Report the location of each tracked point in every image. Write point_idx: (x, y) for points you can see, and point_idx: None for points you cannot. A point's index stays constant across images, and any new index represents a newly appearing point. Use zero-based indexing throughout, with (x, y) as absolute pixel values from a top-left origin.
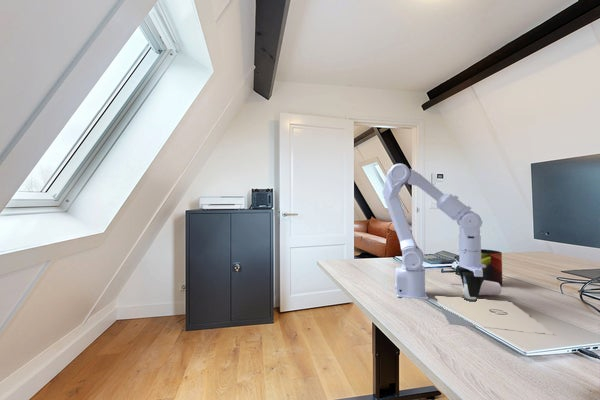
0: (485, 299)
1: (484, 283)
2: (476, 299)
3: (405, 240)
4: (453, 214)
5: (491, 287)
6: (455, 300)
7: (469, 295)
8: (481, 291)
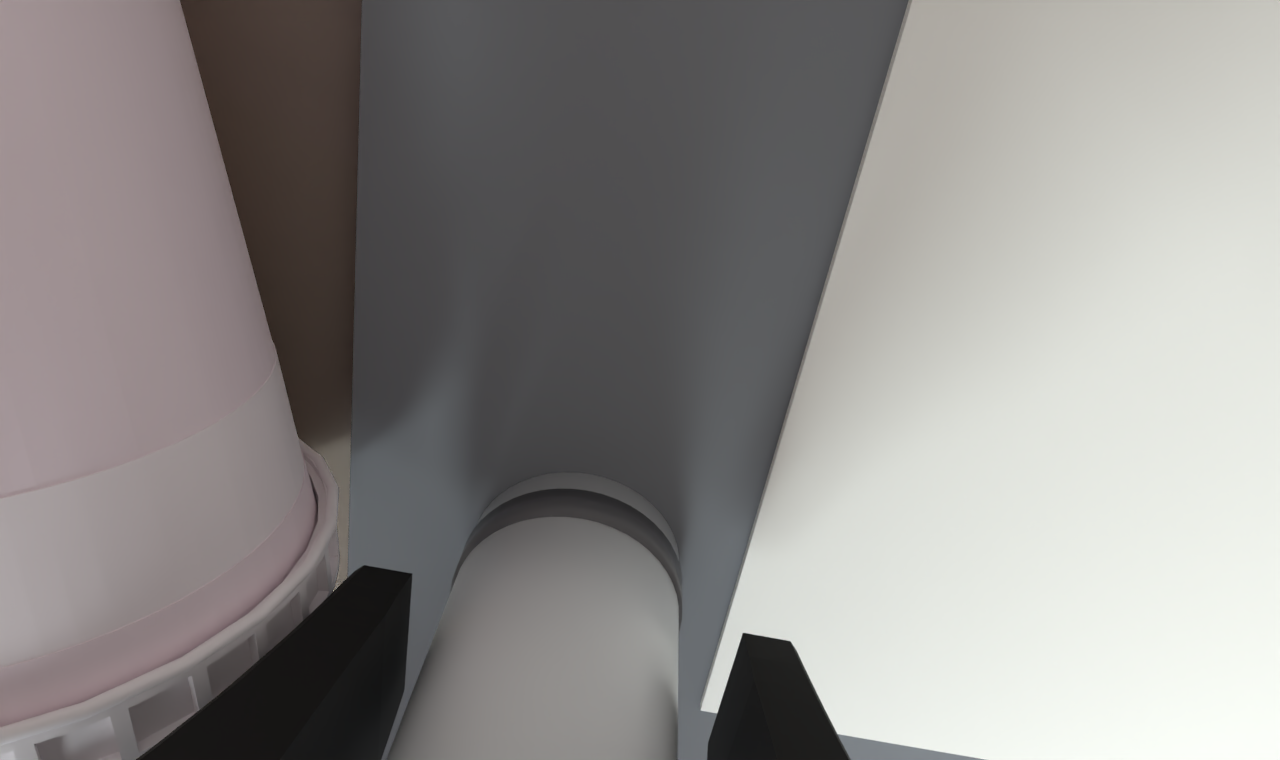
0: (353, 166)
1: None
2: (639, 529)
3: None
4: None
5: None
6: None
7: (707, 753)
8: (247, 299)
